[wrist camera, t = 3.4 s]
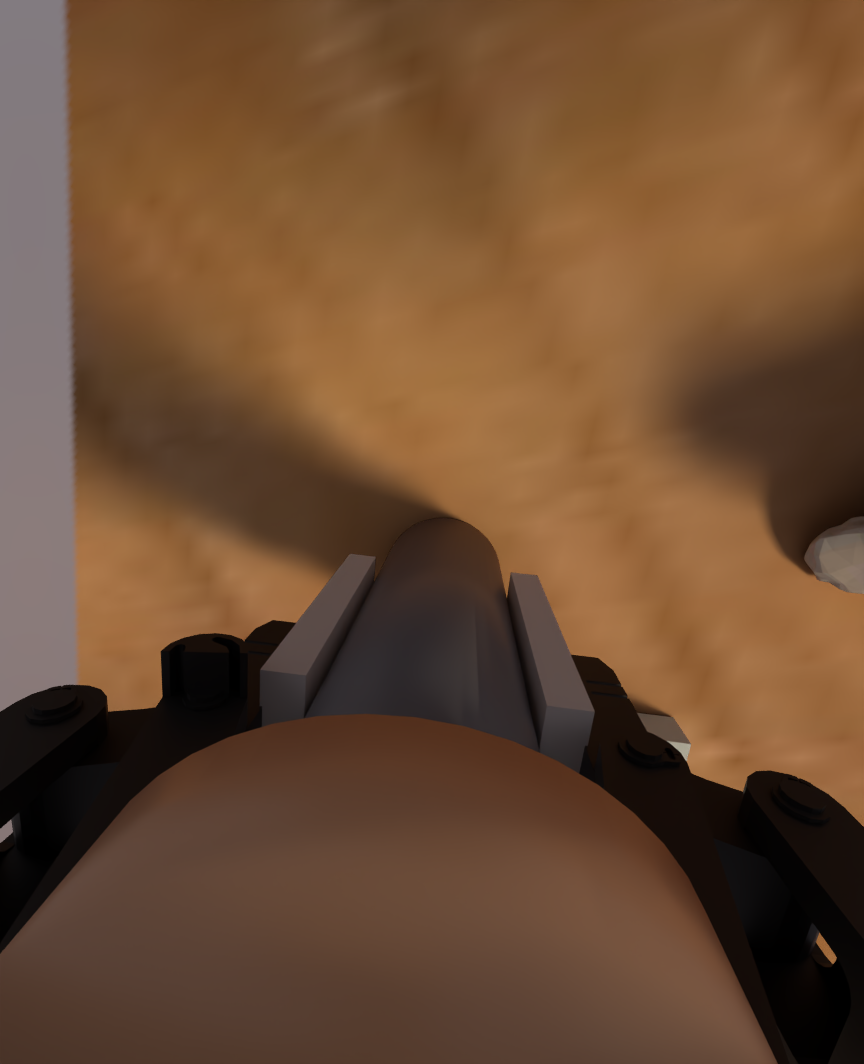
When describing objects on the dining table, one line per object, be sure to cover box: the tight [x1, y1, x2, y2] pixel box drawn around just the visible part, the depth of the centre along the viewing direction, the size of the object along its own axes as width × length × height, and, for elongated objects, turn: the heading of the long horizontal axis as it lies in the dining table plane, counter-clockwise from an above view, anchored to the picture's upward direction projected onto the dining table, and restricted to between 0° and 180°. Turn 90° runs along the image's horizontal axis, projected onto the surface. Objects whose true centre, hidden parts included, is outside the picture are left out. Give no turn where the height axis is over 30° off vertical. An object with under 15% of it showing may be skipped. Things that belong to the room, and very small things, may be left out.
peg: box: [0, 518, 778, 1064], centre depth 11 cm, size 6×6×14 cm
